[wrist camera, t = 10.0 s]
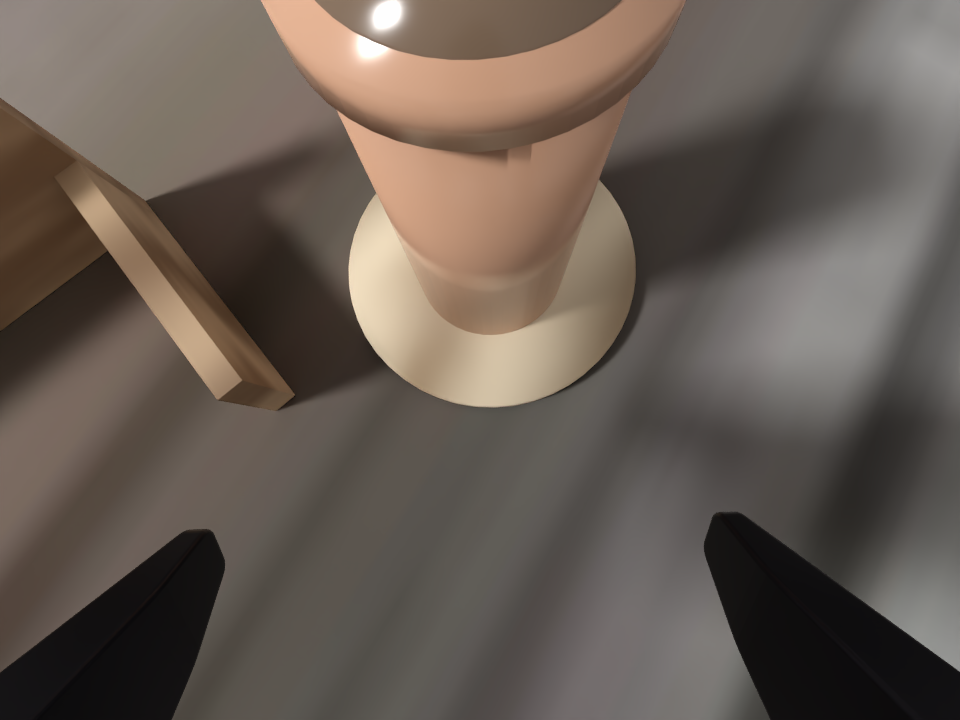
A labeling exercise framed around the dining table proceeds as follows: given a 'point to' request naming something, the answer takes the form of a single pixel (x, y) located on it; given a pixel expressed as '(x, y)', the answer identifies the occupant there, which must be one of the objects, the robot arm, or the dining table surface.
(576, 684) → the dining table surface
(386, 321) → the cream flat disc
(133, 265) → the cold frame
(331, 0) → the terracotta pot
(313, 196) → the dining table surface
